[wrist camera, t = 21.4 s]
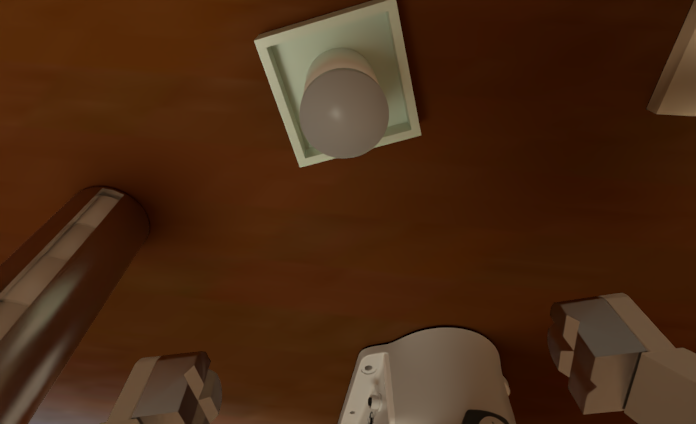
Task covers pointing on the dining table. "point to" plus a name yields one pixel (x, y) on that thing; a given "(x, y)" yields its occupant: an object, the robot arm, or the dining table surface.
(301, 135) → the service tray
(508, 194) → the dining table surface
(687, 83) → the plate
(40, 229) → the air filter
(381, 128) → the cartridge
